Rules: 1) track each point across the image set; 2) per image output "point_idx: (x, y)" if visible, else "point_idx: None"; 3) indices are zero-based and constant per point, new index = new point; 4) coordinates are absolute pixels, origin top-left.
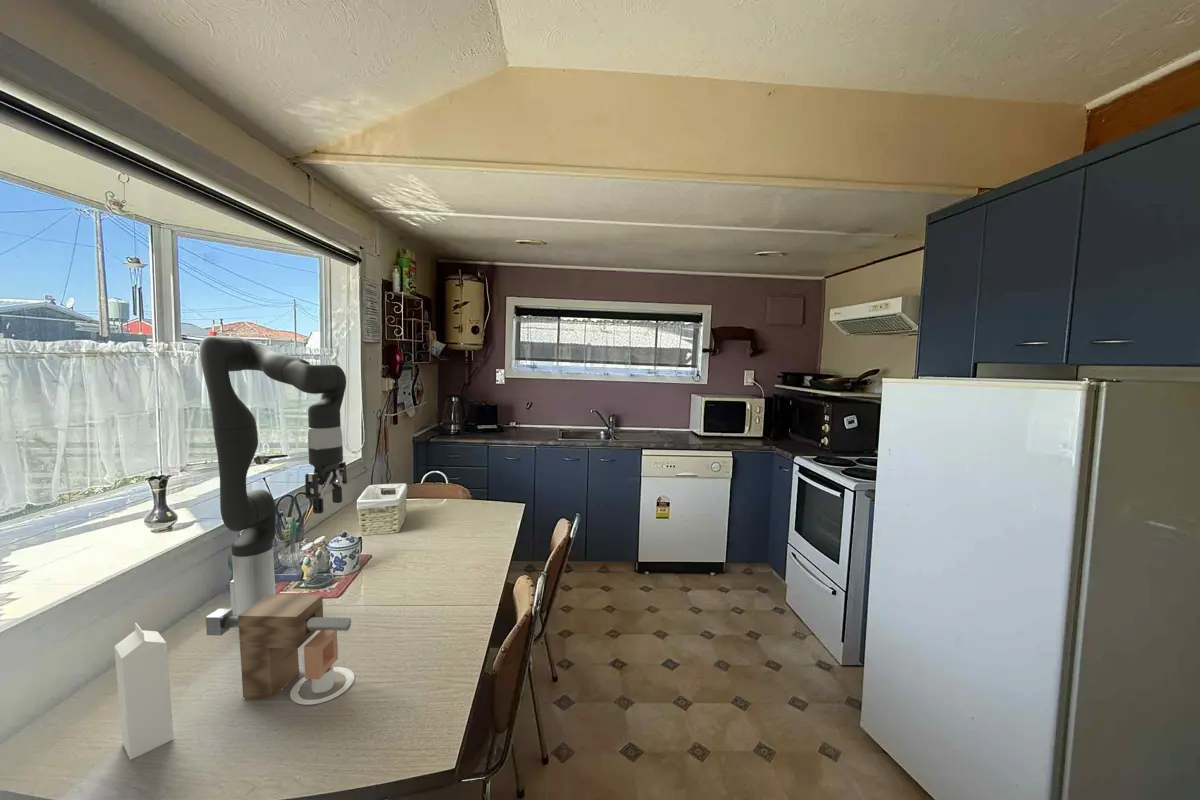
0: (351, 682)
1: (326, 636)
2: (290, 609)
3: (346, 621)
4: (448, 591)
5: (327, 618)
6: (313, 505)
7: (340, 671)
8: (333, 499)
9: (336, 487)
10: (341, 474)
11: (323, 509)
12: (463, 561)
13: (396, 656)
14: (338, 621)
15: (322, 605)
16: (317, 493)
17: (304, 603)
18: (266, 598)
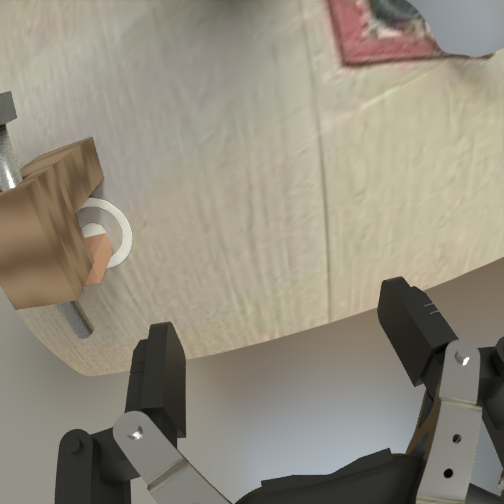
0: (112, 265)
1: None
2: (18, 284)
3: (79, 337)
4: (372, 255)
5: (66, 313)
6: (132, 380)
7: (124, 236)
8: (392, 295)
9: (433, 374)
10: (502, 435)
11: (184, 371)
12: (464, 227)
13: (181, 281)
14: (73, 328)
15: (83, 285)
16: (120, 486)
17: (41, 291)
18: (14, 201)
